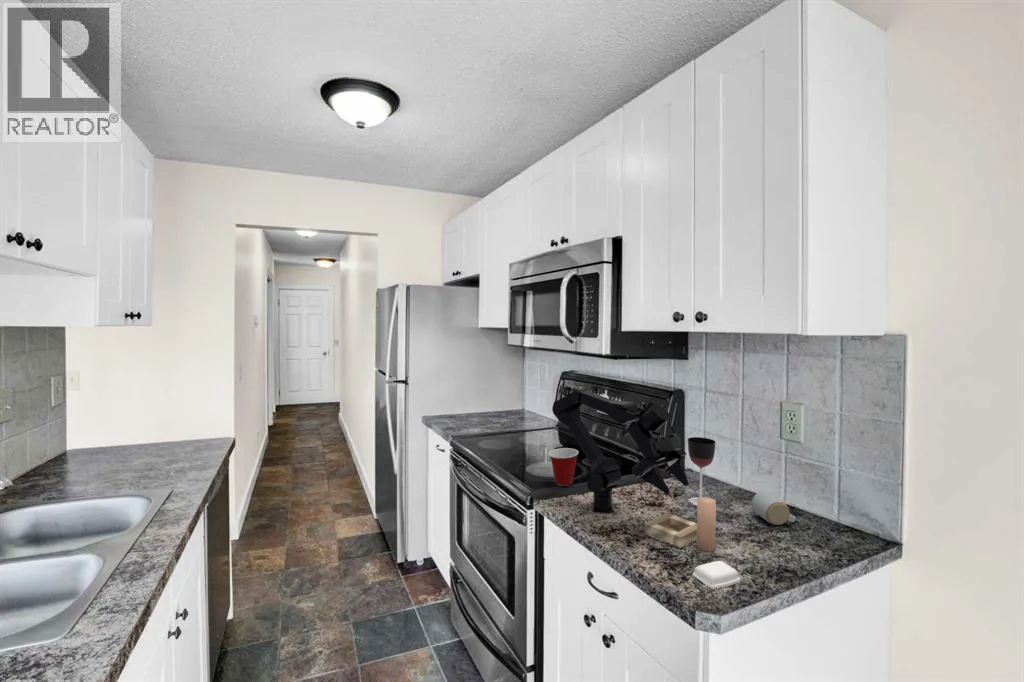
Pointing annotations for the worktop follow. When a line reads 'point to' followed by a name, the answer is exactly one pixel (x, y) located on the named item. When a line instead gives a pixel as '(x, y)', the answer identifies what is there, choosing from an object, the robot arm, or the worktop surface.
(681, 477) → the robot arm
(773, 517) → the ceramic mug
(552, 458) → the plastic cup
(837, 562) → the worktop surface
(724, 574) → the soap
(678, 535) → the socket block
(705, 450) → the wineglass
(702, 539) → the dowel
